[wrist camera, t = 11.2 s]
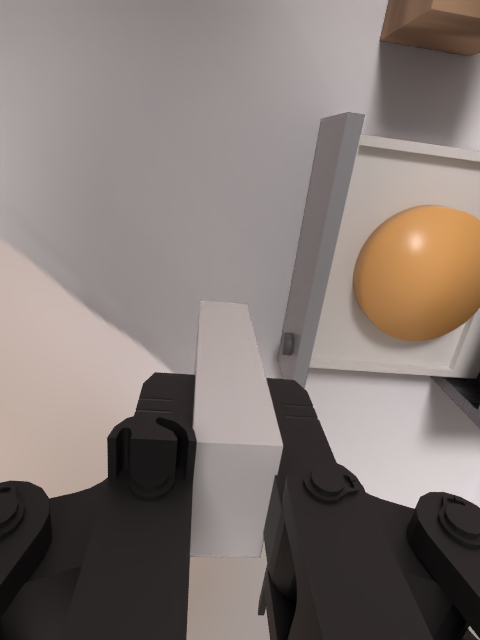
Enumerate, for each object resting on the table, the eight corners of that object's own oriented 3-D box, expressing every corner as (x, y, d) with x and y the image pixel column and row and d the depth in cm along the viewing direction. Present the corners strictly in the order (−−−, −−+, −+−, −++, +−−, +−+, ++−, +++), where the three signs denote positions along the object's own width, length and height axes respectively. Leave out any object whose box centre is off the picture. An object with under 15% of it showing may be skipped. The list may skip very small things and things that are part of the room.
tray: (270, 359, 27) (281, 396, 23) (312, 117, 21) (336, 110, 17) (458, 372, 29) (498, 408, 25) (547, 151, 23) (619, 152, 19)
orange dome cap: (339, 324, 25) (347, 335, 24) (371, 196, 22) (383, 200, 20) (454, 334, 26) (468, 346, 24) (500, 213, 23) (520, 217, 21)
